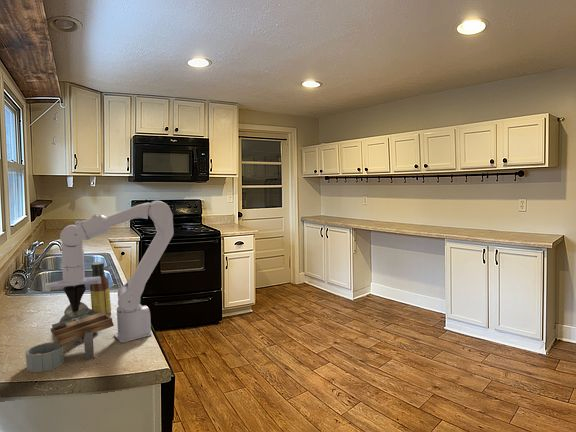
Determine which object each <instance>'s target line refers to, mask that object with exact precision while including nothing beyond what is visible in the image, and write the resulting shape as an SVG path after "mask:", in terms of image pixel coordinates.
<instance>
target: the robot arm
mask: <svg viewBox="0 0 576 432" xmlns="http://www.w3.org/2000/svg"><path fill="white" fill-rule="evenodd" d="M149 218H150V220H152V222H153V225H154V227H155V230H156V234H155V235H154V236H153V239H152V241H150V244H149V245H148V247H147V249H146V251H145V253H144V254H143V256H142V257H141V260H140V261H139V263H138V265H137V267H136V268H135V270H134V271H133V273H132V275H131V276H130V277H129V279H128V280H127V281H126V283H124V284H123V285H122V286H121V287H120V288H119V290H118V291H117V299H118V300H117V307H116V319H117V321H116V323H117V332H115V333H113V336H114V337H115V338H116V339H117V340H118V341H119V343H127V342H131V341H134V340H140V339H142V338H146V337H150V336H152V335H153V333H152V325H151V322H152V321H151V310H150V308H149V307H148V306H147V305H142V304H141V297H142V295H143V293H144V290H145V287H146V283H147V282H148V280H149V279H150V277H151V274H153V272H154V270H155V268H156V266H157V265H158V263H159V261H160V259H161V257H162V256H163V254H164V252H165V251H166V249H167V247H168V245H169V243H170V242H171V240H172V238H173V237H174V234H175V233H174V230H175V229H174V219H173V218H174V214H173V212H172V210H171V208H170V206H169V205H168V203H166V202H163V201H161V200H153V201H151V202H143V203H140V204H136V205H134V206H132V207H129V208H126V209H124V210H122V211H119V212H116V213H113V214H110V215H109V216H106V215H103V214H98V215H97V214H92V215H91V217H89V218H87V219H84V220H82V221H80V220H77V221H75V223H74V224H69V225H67V226H65V227H64V228H63V229H62V230H61V231H60V233H59V234H60V235H59V239H60V241H61V249H62V250H61V267H62V269H61V270H62V280H57V281H52V282H46V283H44V290H45V292H52V291H54V290H55V291H56V290H63V291H64V293H65V295H66V297H67V299H68V302H69V305H70V304H71V308H72V311H73V312H76V311H78V310H79V305H80V302H82V298H83V295H84V294H85V292H86V290H87V289H86V288H87V287H86V286H90V285H91V284H101V277H99V276H97V277H92V276H88V277H86V276H85V273H86V272H85V251H84V248H83V247H84V245H83V240H85V241H88V240H91V239H93V238H96V237H98V236H102V235H104V234H108V233H109V232H110V230H111V228H112V227H113V226H116V225H121V224H123V223H126V222H129V221H132V220H134V219H145V220H148V219H149Z"/></svg>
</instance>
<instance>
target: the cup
mask: <svg viewBox="0 0 576 432" xmlns="http://www.w3.org/2000/svg"><path fill="white" fill-rule="evenodd" d="M38 353H40V354H38ZM25 362H26V363H25V364H26V365H25V367H26V370H27V372H29V371H30V372H29V373H43V372H48V371H52V370H54V369H56V368H58V367H61V366H62V364H63V363H64V347H63V344H61V345H59V344H58V342H57V341H53V342H51V341H50V342H43V343H40V344H36V345H34V346H31V347H29V348H28V349H27V350H26V351H25Z"/></svg>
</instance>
